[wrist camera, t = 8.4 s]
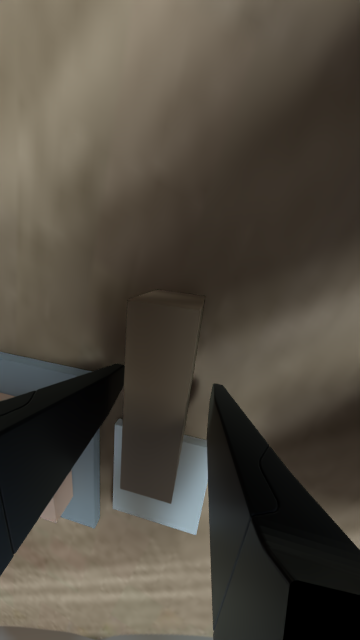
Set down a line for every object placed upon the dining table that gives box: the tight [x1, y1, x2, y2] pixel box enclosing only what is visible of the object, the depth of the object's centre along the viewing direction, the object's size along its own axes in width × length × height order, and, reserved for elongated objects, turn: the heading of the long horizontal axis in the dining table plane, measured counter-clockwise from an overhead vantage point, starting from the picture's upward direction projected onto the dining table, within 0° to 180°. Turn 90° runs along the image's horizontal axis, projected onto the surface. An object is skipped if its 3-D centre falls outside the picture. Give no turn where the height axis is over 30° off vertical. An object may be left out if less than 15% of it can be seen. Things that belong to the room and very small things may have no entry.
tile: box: [0, 393, 73, 523], centre depth 11 cm, size 7×2×7 cm
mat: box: [0, 352, 100, 528], centre depth 12 cm, size 10×12×1 cm
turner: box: [113, 289, 208, 535], centre depth 9 cm, size 6×15×3 cm, turn 172°
